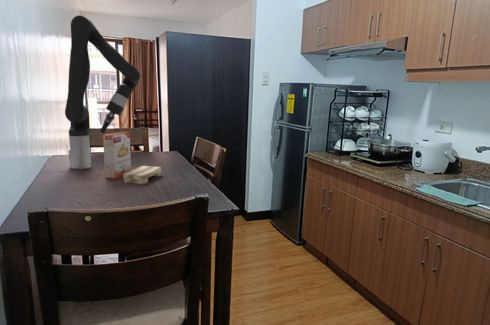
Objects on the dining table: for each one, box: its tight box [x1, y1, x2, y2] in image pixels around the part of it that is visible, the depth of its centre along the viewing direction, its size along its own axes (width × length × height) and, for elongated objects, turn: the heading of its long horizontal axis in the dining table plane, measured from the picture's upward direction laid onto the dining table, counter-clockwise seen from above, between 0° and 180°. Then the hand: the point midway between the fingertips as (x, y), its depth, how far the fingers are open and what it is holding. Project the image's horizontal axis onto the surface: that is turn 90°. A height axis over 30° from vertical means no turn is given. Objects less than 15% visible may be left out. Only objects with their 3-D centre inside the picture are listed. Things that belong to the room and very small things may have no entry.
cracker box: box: [102, 131, 132, 180], centre depth 157 cm, size 14×6×21 cm, turn 168°
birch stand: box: [122, 165, 162, 185], centre depth 154 cm, size 10×18×4 cm, turn 170°
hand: (101, 132), depth 163 cm, fingers open, 8 cm apart
